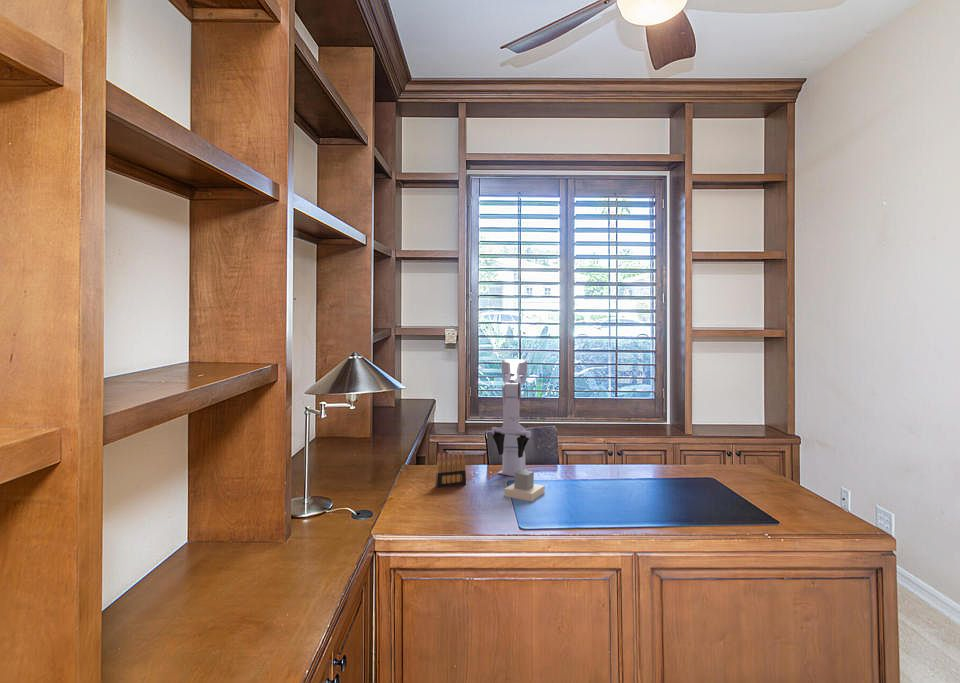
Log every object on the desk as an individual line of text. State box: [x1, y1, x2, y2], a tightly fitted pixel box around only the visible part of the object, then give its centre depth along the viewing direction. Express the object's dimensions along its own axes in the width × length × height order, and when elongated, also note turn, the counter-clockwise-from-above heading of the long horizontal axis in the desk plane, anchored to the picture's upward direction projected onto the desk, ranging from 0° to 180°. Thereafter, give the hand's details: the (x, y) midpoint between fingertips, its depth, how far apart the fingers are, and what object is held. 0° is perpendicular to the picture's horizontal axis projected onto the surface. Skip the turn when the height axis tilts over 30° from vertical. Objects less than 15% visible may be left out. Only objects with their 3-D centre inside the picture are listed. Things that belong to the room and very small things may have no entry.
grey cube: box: [513, 469, 535, 490], centre depth 186 cm, size 5×5×5 cm
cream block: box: [503, 482, 546, 502], centre depth 186 cm, size 10×10×3 cm
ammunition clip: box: [434, 450, 467, 489], centre depth 195 cm, size 11×2×12 cm, turn 112°
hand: (510, 455), depth 196 cm, fingers open, 7 cm apart
